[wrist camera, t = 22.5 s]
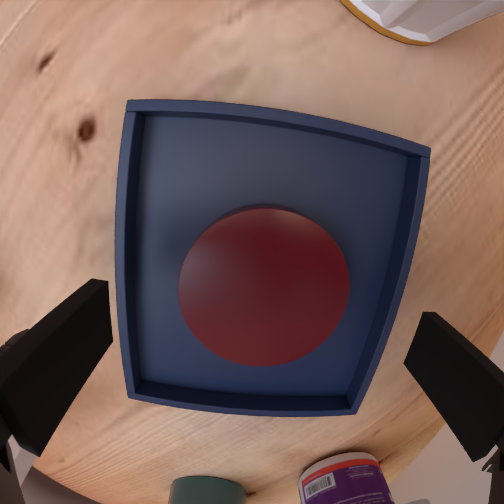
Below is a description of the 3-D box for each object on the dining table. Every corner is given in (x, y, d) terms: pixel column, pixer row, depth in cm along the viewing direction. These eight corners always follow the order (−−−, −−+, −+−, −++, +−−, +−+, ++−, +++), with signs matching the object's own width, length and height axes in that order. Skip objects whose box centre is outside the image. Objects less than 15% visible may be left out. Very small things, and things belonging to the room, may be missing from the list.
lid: (336, 196, 14) (349, 200, 13) (338, 336, 17) (348, 354, 15) (172, 214, 14) (162, 220, 13) (200, 353, 17) (196, 372, 15)
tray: (348, 396, 19) (356, 414, 17) (136, 379, 18) (127, 398, 16) (412, 149, 14) (431, 148, 12) (140, 107, 13) (126, 99, 11)
